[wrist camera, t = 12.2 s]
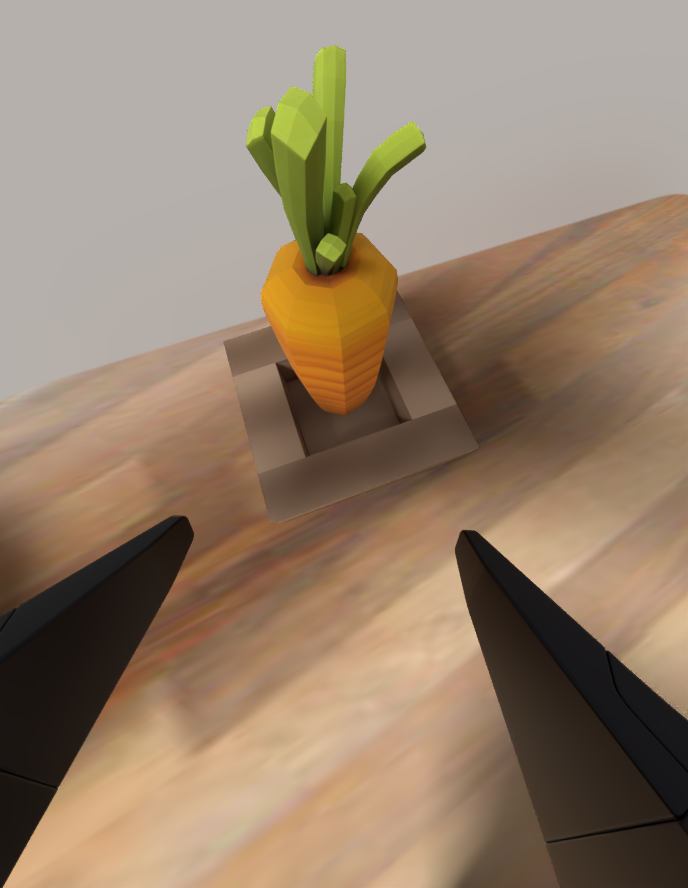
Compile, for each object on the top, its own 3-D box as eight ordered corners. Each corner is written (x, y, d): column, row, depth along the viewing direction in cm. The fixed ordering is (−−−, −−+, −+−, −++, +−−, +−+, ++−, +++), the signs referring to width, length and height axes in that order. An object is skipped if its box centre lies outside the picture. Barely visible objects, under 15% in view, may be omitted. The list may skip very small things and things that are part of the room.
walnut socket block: (456, 459, 18) (479, 447, 15) (286, 521, 17) (270, 523, 14) (388, 321, 22) (394, 286, 18) (244, 369, 21) (223, 341, 17)
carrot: (335, 369, 20) (283, -34, 5) (388, 401, 19) (506, 18, 4) (296, 417, 19) (99, 84, 4) (351, 454, 18) (338, 187, 3)
